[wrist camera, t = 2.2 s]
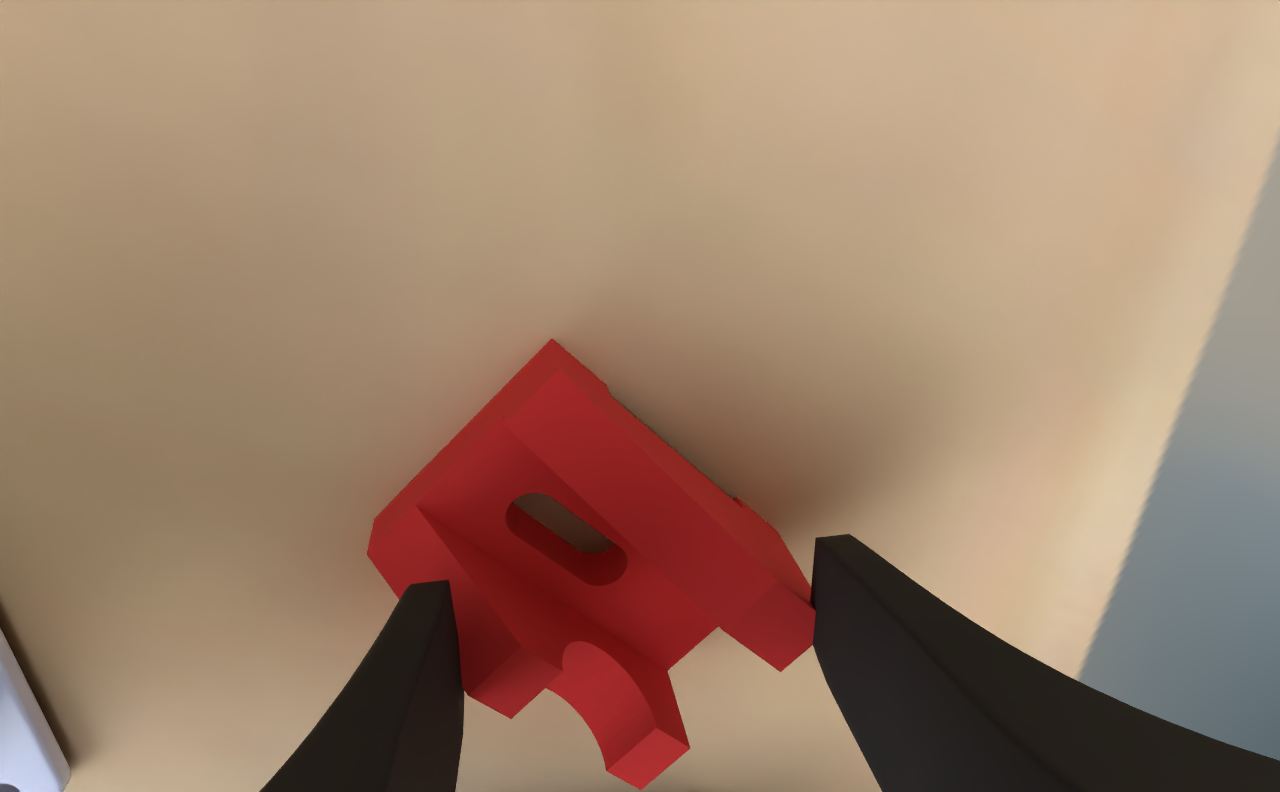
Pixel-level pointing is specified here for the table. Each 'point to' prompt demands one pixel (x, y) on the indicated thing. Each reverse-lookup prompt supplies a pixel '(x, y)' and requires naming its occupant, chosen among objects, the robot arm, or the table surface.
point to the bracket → (589, 562)
